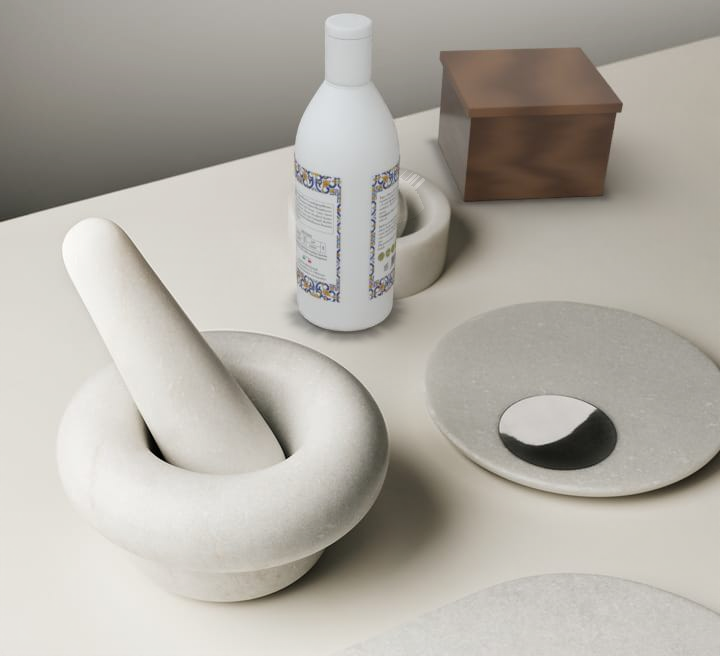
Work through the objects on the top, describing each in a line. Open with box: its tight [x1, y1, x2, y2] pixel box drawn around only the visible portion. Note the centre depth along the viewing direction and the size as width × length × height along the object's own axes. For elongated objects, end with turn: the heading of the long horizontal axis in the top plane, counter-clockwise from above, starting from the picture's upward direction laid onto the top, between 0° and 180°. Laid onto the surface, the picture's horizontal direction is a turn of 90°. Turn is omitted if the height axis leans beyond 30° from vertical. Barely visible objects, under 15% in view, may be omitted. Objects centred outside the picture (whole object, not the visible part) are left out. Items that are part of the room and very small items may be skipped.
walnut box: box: [437, 46, 624, 202], centre depth 98 cm, size 13×13×8 cm
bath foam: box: [293, 12, 401, 332], centre depth 76 cm, size 7×7×20 cm
